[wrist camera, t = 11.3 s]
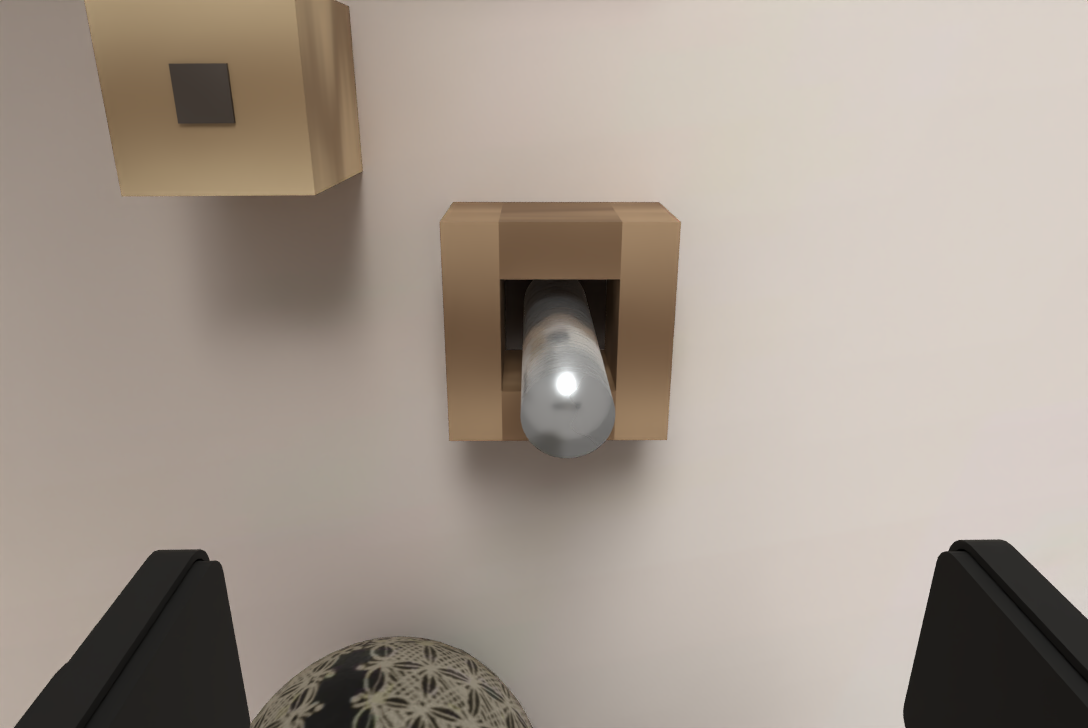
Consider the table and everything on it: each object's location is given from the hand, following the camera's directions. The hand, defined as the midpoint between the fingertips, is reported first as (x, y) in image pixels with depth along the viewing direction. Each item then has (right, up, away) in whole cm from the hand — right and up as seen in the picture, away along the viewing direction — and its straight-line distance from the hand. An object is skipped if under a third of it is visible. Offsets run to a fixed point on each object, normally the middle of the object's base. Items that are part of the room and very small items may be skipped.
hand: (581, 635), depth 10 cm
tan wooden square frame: (0, +6, +17) cm, 18 cm away
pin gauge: (0, +6, +17) cm, 18 cm away
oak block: (-9, +12, +15) cm, 21 cm away
